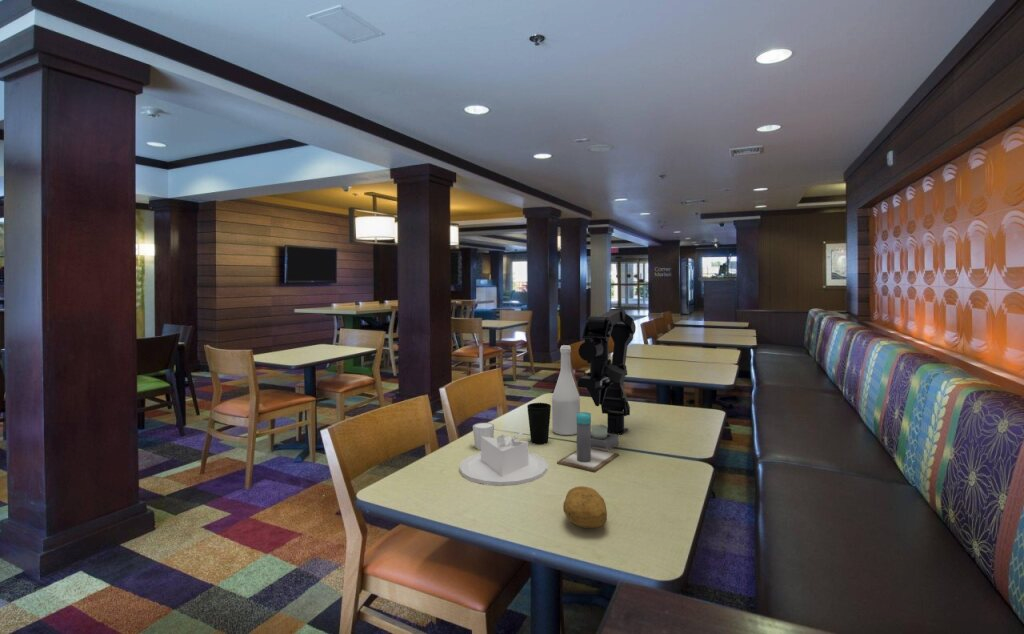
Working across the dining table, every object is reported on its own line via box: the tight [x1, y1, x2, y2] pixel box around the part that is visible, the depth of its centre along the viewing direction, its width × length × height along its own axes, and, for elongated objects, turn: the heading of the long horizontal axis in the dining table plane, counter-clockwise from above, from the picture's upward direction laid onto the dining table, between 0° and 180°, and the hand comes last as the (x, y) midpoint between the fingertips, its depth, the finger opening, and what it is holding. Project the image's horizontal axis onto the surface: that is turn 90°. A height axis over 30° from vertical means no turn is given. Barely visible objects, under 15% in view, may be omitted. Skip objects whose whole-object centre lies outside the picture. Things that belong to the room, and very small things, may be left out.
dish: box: [458, 432, 548, 487], centre depth 145 cm, size 25×25×11 cm
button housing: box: [591, 432, 619, 451], centre depth 163 cm, size 9×9×3 cm
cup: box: [526, 402, 552, 445], centre depth 168 cm, size 8×8×12 cm
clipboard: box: [556, 446, 620, 473], centre depth 151 cm, size 16×12×1 cm
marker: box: [576, 411, 592, 462], centre depth 148 cm, size 4×4×14 cm
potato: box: [562, 485, 608, 529], centre depth 113 cm, size 9×13×7 cm
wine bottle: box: [551, 344, 581, 436], centre depth 177 cm, size 10×10×30 cm
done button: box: [591, 424, 608, 440], centre depth 163 cm, size 5×5×4 cm
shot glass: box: [472, 422, 495, 450], centre depth 164 cm, size 7×7×7 cm
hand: (599, 405), depth 162 cm, fingers closed
